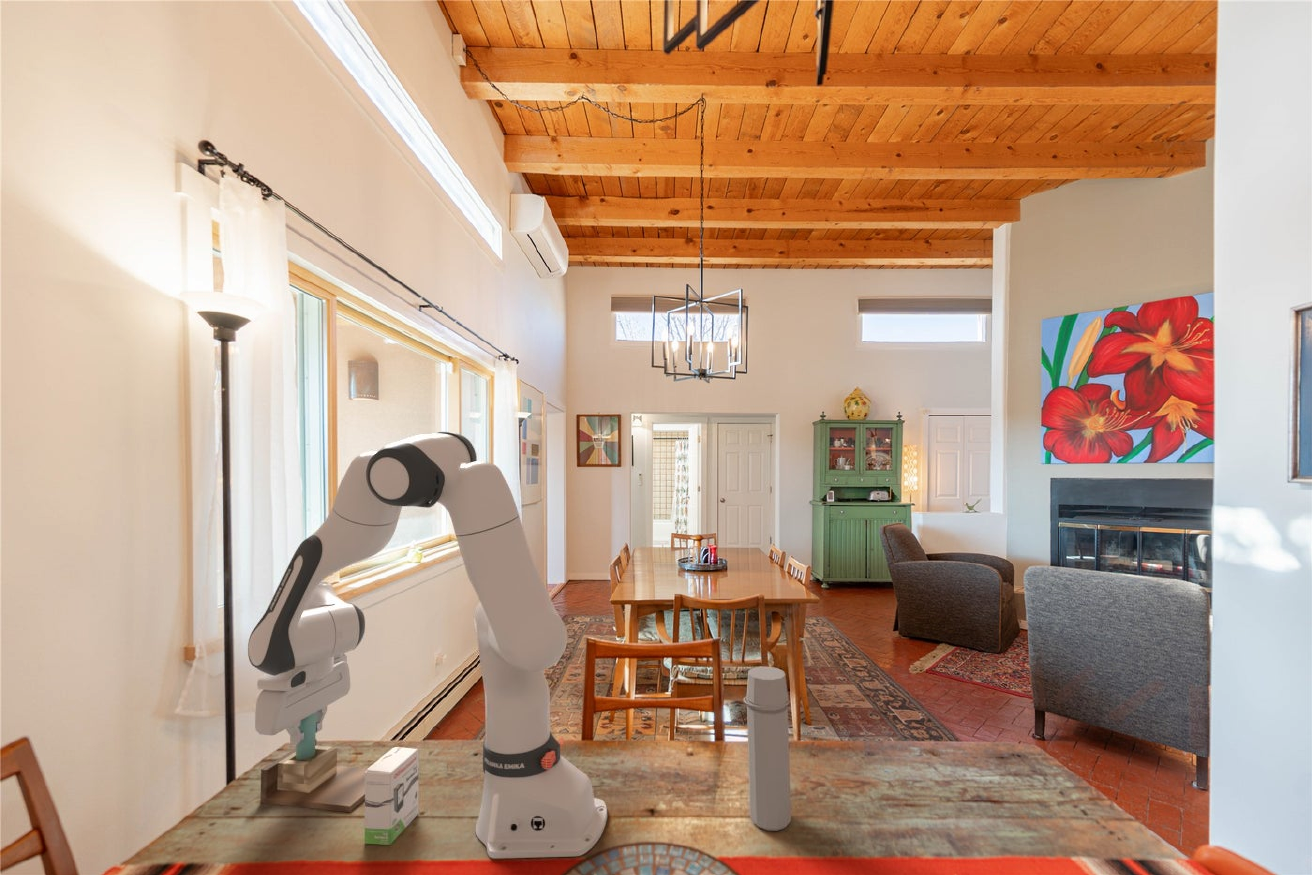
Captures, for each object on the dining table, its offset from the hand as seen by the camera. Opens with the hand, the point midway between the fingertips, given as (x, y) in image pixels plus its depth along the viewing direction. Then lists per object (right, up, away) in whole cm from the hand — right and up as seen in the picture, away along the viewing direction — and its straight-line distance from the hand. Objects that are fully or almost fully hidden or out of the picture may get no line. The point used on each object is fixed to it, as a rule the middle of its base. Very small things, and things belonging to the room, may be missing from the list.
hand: (306, 737), depth 109 cm
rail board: (+5, -10, -1) cm, 11 cm away
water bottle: (+89, -8, -12) cm, 90 cm away
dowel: (0, -4, 0) cm, 4 cm away
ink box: (+23, -9, -13) cm, 28 cm away
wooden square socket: (0, -9, 0) cm, 9 cm away
